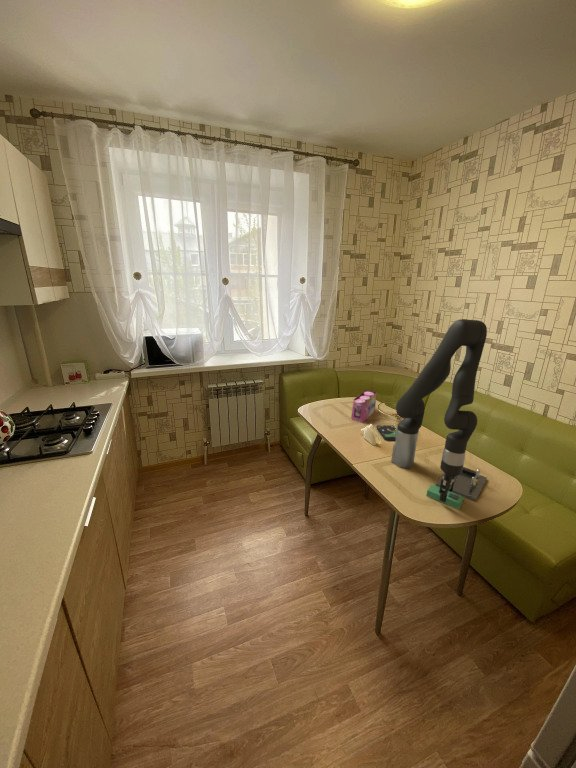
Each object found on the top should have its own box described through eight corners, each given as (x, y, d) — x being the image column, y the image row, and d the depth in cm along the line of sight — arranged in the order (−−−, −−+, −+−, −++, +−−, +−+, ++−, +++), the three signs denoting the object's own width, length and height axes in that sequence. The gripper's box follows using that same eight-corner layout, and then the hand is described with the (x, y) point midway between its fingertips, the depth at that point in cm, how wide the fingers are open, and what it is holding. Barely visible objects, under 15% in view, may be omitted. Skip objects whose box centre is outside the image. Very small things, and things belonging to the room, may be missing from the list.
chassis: (435, 485, 134) (438, 472, 132) (450, 466, 148) (452, 454, 146) (475, 501, 124) (478, 487, 122) (486, 479, 138) (489, 466, 136)
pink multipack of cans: (362, 423, 192) (364, 402, 188) (349, 420, 196) (351, 400, 192) (375, 411, 211) (377, 392, 207) (363, 408, 215) (365, 389, 211)
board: (426, 496, 127) (427, 489, 126) (430, 490, 131) (432, 483, 130) (458, 510, 120) (460, 502, 118) (462, 503, 123) (464, 496, 122)
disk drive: (375, 429, 185) (384, 441, 171) (376, 425, 185) (385, 436, 170) (392, 429, 186) (403, 441, 172) (393, 425, 185) (403, 436, 171)
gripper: (447, 449, 127) (441, 484, 132) (436, 463, 117) (429, 500, 122) (468, 456, 122) (461, 491, 127) (458, 471, 112) (450, 509, 117)
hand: (445, 496), depth 124 cm, fingers open, 8 cm apart
